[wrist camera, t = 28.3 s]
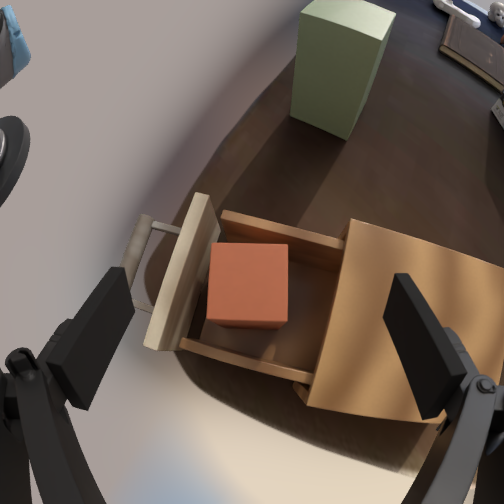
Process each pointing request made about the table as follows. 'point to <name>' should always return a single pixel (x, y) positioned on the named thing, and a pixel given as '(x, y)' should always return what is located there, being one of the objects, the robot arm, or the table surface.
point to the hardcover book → (474, 51)
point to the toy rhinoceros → (497, 13)
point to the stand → (337, 61)
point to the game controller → (456, 12)
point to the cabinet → (376, 333)
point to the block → (248, 286)
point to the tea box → (499, 110)
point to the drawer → (193, 275)
